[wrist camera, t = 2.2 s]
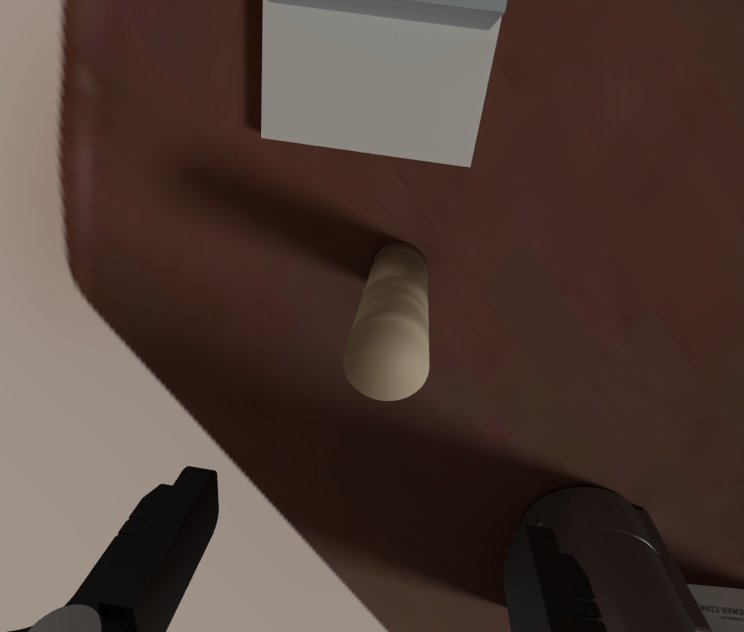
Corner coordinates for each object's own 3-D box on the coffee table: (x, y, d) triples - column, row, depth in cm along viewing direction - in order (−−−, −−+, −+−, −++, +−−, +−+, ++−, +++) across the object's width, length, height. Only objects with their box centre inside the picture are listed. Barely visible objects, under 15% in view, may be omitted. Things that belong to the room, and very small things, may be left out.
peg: (432, 246, 29) (436, 334, 18) (422, 298, 30) (421, 407, 19) (376, 238, 29) (347, 320, 18) (369, 289, 30) (339, 393, 20)
